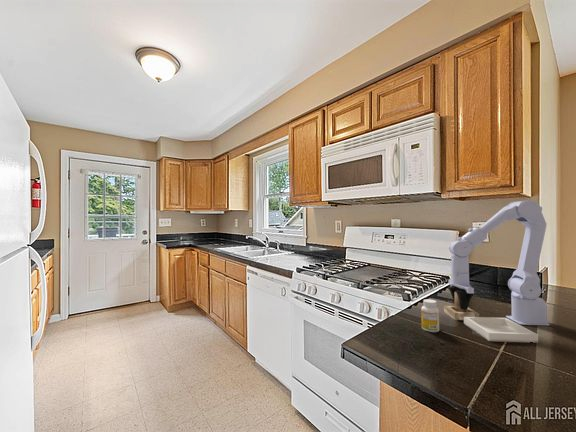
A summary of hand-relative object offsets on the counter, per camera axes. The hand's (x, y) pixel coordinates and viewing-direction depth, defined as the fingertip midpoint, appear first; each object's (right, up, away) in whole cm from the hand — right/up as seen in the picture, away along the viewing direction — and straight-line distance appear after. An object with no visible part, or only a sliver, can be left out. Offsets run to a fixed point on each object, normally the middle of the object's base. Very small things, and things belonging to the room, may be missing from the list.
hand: (460, 307), depth 105 cm
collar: (0, -3, 0) cm, 3 cm away
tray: (+3, -3, -15) cm, 16 cm away
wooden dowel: (0, -3, 0) cm, 3 cm away
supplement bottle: (-18, -4, -12) cm, 22 cm away
